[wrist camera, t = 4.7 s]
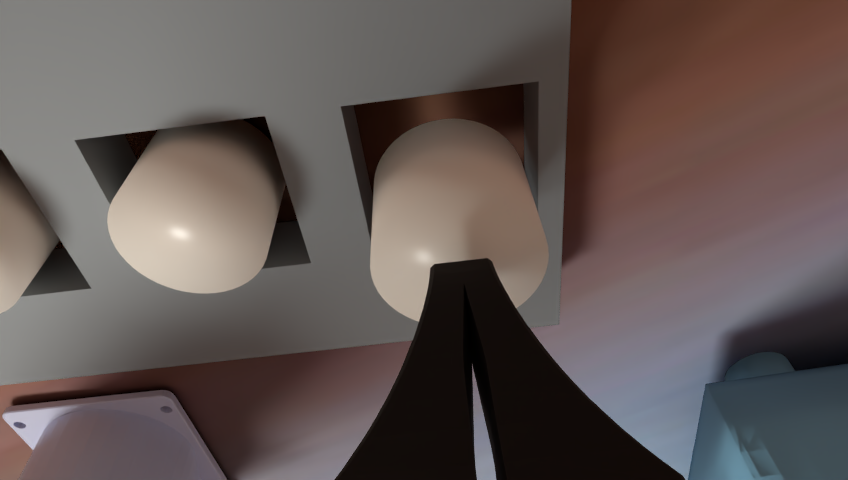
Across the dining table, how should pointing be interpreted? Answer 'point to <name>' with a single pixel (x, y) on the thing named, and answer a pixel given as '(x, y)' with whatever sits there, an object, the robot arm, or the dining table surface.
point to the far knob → (20, 236)
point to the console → (294, 143)
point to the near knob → (453, 212)
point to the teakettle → (773, 423)
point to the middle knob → (199, 207)
